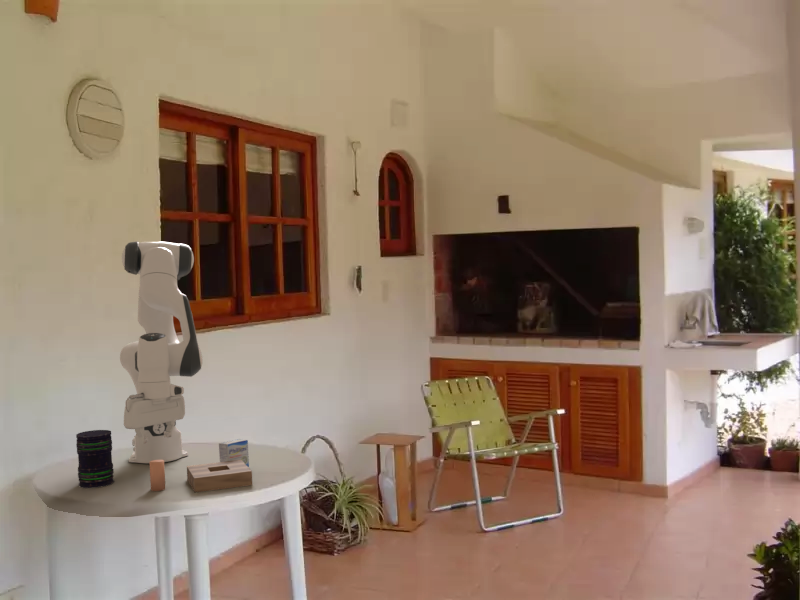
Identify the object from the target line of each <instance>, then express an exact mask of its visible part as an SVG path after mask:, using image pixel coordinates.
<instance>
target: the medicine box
mask: <svg viewBox="0 0 800 600" xmlns="http://www.w3.org/2000/svg"><path fill="white" fill-rule="evenodd" d="M248 441H249V440H248V439H244V438H238V439H234V440H228V441H224V442H220V443H218V450H219V451H218V452H219V462H225V461H234V460H242V461H243V462H244V463H245V464H246V465H247V466H248V468H249V467H250V463H249V462H250V459H249V442H248Z"/></svg>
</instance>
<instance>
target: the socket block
mask: <svg viewBox="0 0 800 600" xmlns="http://www.w3.org/2000/svg"><path fill="white" fill-rule="evenodd" d="M186 474H187V475H186V479H187V481H188V483H189V485H190V487H191V489H192V490H193V491H194V493H201V492H211V491H218V490H224V489H231V488H241V487H247V486H253V470H251V468H249V467H248V466H247V465H246V464H245V463H244V462H243V461H242V460H234V461H225V462H220V461H219V462H209V463H203V464H193V465H187V466H186Z"/></svg>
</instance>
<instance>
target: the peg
mask: <svg viewBox="0 0 800 600" xmlns="http://www.w3.org/2000/svg"><path fill="white" fill-rule="evenodd" d="M148 464H149V477H150V478H149V479H150V480H149V481H150V491H151V492H161V491H164V490H166V473H165V472H166V469H165V462H164V460H152V461H150V462H149V463H148Z"/></svg>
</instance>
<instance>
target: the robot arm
mask: <svg viewBox="0 0 800 600" xmlns="http://www.w3.org/2000/svg"><path fill="white" fill-rule="evenodd" d="M194 262H195V256H194V252H193V251H192V248H191V247H190V245H188V244H185V243H176V242H169V241H142V242H139V241H130V242H128V243H127V244H126V245H125V247H124V248H123V251H122V253H121V263H122V265H123V268H124V270H125V271H126V272H127V273H128V274H130V275H131V274H132V275H135V276H136V275H139V286H138V287H139V288H138V297H137V298H138V301H137V307H138V308H137V322H138V324H139V326H141V327H142V328H143V330H144V331H145V333H144V334H142V335H141V336H139V338H138V340H136V341H132V342H129V343H126V344H125V345H124V346H122V349H121V351H120V354H119V360H120V364H121V366H122V367H123V369H125V371H127V373H128V374H129V376H130V378H131V379H132V382H133V384H134V388H135V390H136V394H131V395H129V397H127V399H126V400H125V402H124V403H125V406H124V412H123V413H124V414H123V427H124V428H125V429H127V430H128V429H129V430H134V432H135V435H134V437H133V439H132V441H131V443H132V444H131V445H132V448H133V449H132V450H133V452H132V454H131V455H130V456H129V458H128V462H129V463H139V464H150V463H149V462H150V461H152V460H164V463H167V462H172V461H176V460H179V459H181V458H184V457H187V456H189V452H188V451H186V450H184V449H183V441H182V440H183V439H182V431H180V430H179V429H178V428H177V427H176V426H177V421H179V420H183V419H184V417H185V416H186V405H185V403H186V402H185V397H184V396H183V394H184V393H185V388H184V387H183V386H180V385H176V384H172V383H171V377H177V376H178V377H179V376H180V377H186V378H187V377H190V378H192V377H193V376H195V375H197V374H198V373H199V372H200V371H201V370H202V365H203V355H202V351H201V349H200V345H199V343H198V338H197V333H196V332H197V331H196V326H195V321H194V317H193V313H192V310H191V304H190V300H189V299H188V297H187V295H186V294H184V293H182V291H181V290H180V289H179V287H178V281H180V280H181V278H182V277H186V276H187V275H188V274H190V273H191V271H192V268H193V267H194ZM174 317H175V318H176V319H178V321H179V324H180V329H181V334H182V339H183V340H182V341H180V340H179V338H178V336H177V333H176V329H175V324H174Z"/></svg>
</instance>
